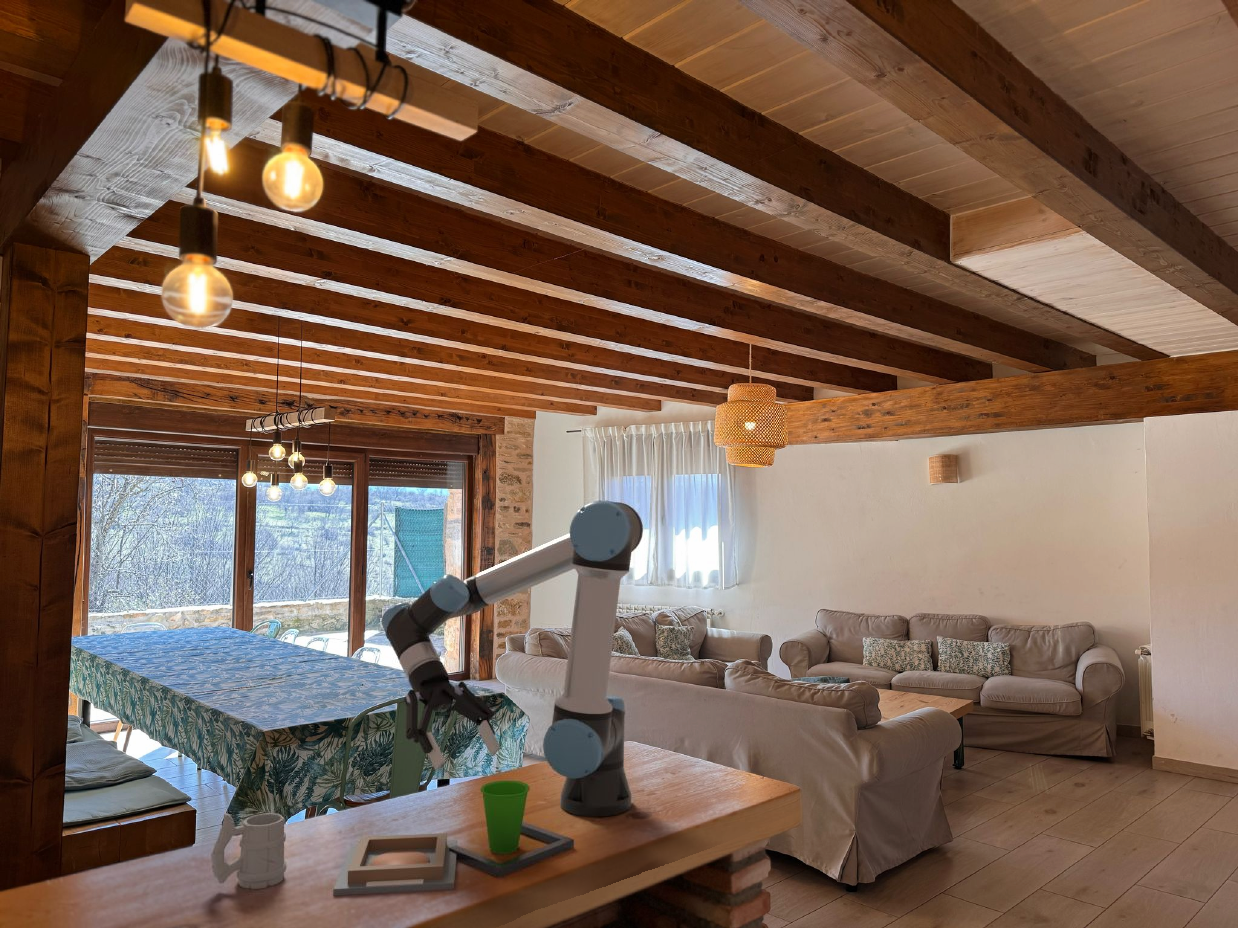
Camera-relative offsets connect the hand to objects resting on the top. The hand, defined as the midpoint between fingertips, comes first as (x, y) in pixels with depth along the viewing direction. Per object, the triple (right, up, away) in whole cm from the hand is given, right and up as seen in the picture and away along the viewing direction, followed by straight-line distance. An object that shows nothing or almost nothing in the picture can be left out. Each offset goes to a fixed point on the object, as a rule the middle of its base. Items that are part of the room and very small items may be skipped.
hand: (469, 758), depth 165 cm
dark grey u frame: (+10, -14, -9) cm, 19 cm away
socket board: (-9, -13, -17) cm, 23 cm away
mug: (-32, -12, -24) cm, 42 cm away
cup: (+8, -14, -8) cm, 18 cm away
